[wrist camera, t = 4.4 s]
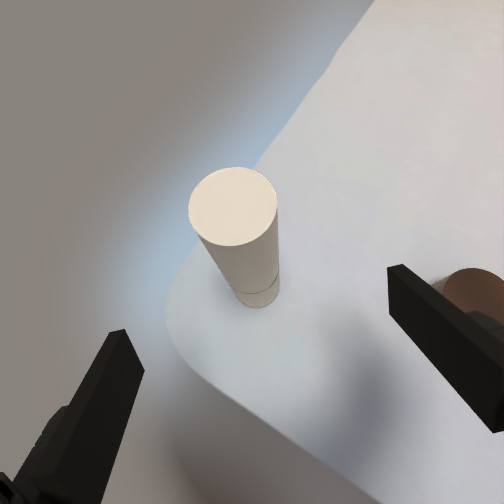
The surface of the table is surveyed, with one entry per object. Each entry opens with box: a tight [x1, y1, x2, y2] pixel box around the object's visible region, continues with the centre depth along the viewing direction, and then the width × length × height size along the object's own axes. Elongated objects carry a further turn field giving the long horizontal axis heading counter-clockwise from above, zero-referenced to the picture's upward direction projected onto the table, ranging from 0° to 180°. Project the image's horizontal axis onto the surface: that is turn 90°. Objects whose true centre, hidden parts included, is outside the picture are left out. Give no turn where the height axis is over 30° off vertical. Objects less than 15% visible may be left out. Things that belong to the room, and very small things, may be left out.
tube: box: [188, 167, 280, 308], centre depth 21 cm, size 4×4×15 cm
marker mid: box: [431, 268, 504, 326], centre depth 24 cm, size 5×5×4 cm
